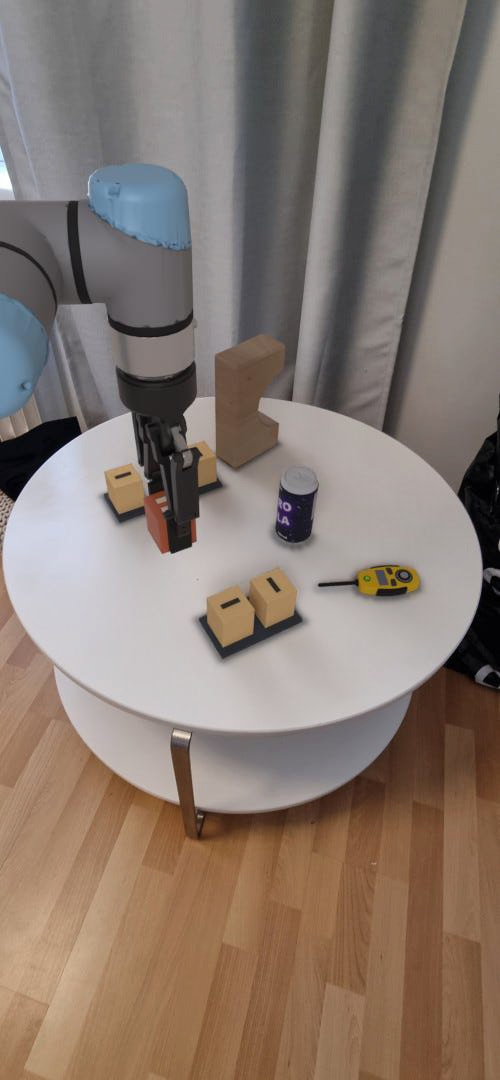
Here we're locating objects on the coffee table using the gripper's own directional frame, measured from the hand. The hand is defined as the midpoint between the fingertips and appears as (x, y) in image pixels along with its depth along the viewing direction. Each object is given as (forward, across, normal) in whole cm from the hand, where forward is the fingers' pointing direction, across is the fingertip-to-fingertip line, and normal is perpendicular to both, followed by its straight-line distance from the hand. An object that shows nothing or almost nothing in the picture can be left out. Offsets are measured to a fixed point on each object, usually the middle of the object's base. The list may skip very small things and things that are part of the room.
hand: (171, 533), depth 72 cm
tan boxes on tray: (+15, -7, -8) cm, 18 cm away
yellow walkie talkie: (+15, -9, -26) cm, 31 cm away
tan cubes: (+15, +23, -8) cm, 28 cm away
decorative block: (+15, +27, -25) cm, 40 cm away
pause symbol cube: (0, 0, 0) cm, 0 cm away
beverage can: (+15, +5, -22) cm, 27 cm away
